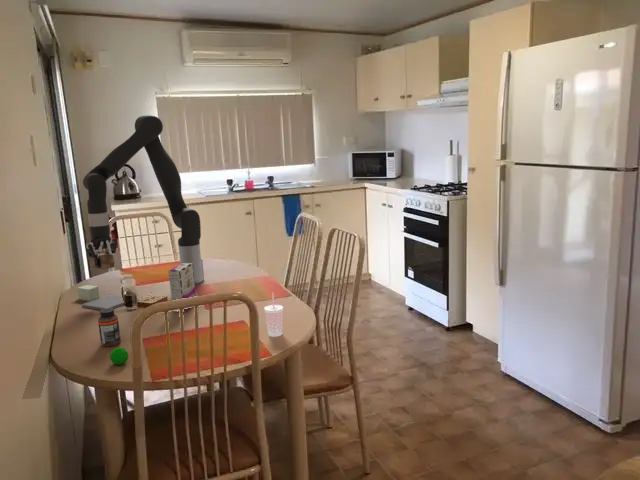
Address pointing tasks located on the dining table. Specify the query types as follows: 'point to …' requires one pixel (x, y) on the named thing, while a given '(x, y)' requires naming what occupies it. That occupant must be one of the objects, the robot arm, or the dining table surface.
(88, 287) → the sage brick
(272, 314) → the beverage cup
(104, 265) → the walnut brick
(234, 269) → the dining table surface
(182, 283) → the candy bar box
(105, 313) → the supplement bottle
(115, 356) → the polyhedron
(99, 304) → the plate
